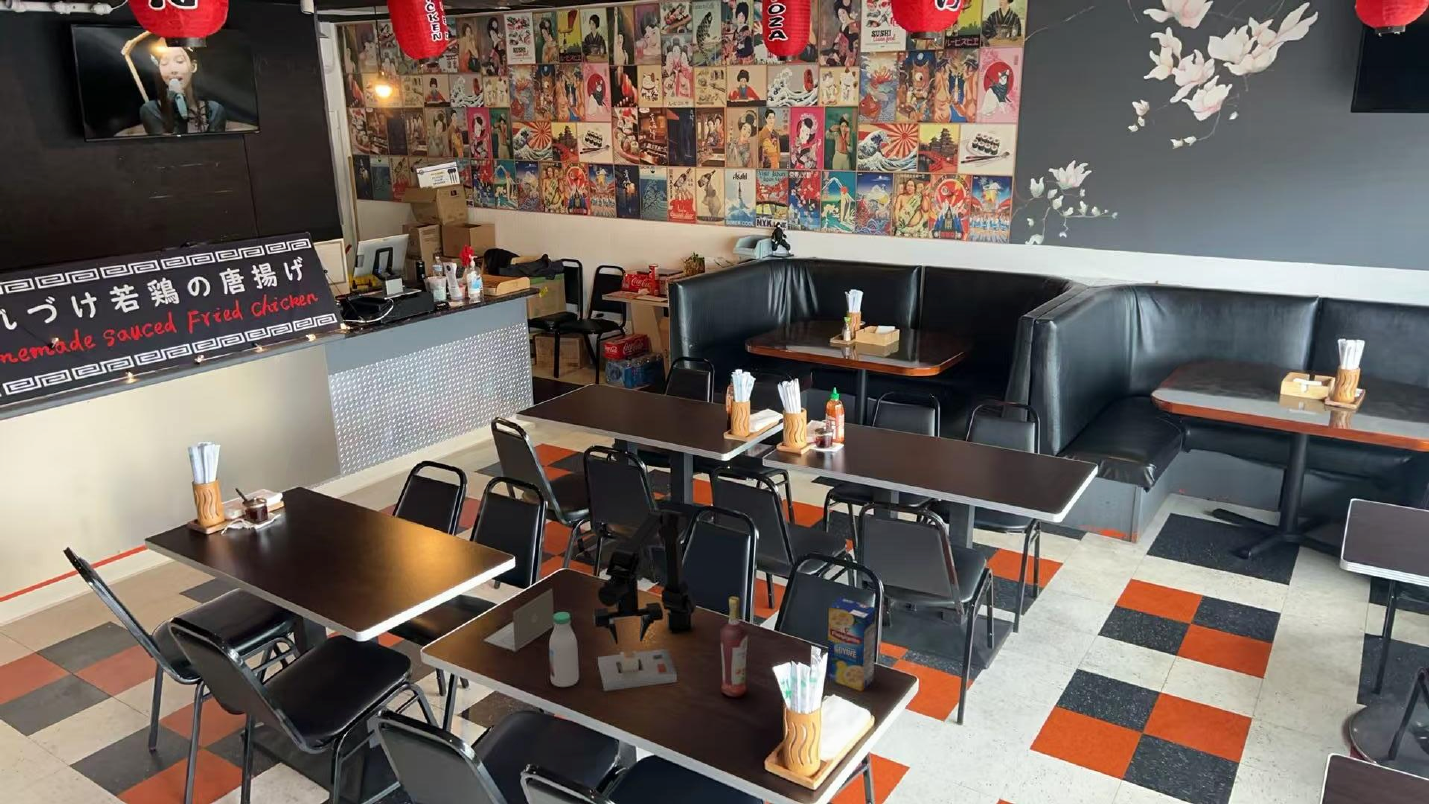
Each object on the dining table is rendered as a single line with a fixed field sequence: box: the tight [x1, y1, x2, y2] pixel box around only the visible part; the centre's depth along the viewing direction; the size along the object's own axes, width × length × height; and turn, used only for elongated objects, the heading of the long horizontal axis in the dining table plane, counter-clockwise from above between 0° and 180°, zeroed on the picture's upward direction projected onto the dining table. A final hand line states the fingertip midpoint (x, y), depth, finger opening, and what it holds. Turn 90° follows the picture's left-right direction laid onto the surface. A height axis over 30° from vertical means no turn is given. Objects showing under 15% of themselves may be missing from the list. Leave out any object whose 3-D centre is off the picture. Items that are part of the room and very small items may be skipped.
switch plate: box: [597, 648, 678, 692], centre depth 284 cm, size 20×14×3 cm
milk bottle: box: [548, 611, 580, 688], centre depth 278 cm, size 8×8×20 cm
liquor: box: [719, 596, 749, 698], centre depth 271 cm, size 7×7×28 cm
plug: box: [619, 650, 640, 673], centre depth 283 cm, size 4×4×7 cm
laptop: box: [483, 588, 555, 652], centre depth 305 cm, size 18×12×13 cm
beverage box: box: [826, 597, 877, 692], centre depth 278 cm, size 7×11×22 cm, turn 54°
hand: (628, 642), depth 281 cm, fingers open, 6 cm apart
